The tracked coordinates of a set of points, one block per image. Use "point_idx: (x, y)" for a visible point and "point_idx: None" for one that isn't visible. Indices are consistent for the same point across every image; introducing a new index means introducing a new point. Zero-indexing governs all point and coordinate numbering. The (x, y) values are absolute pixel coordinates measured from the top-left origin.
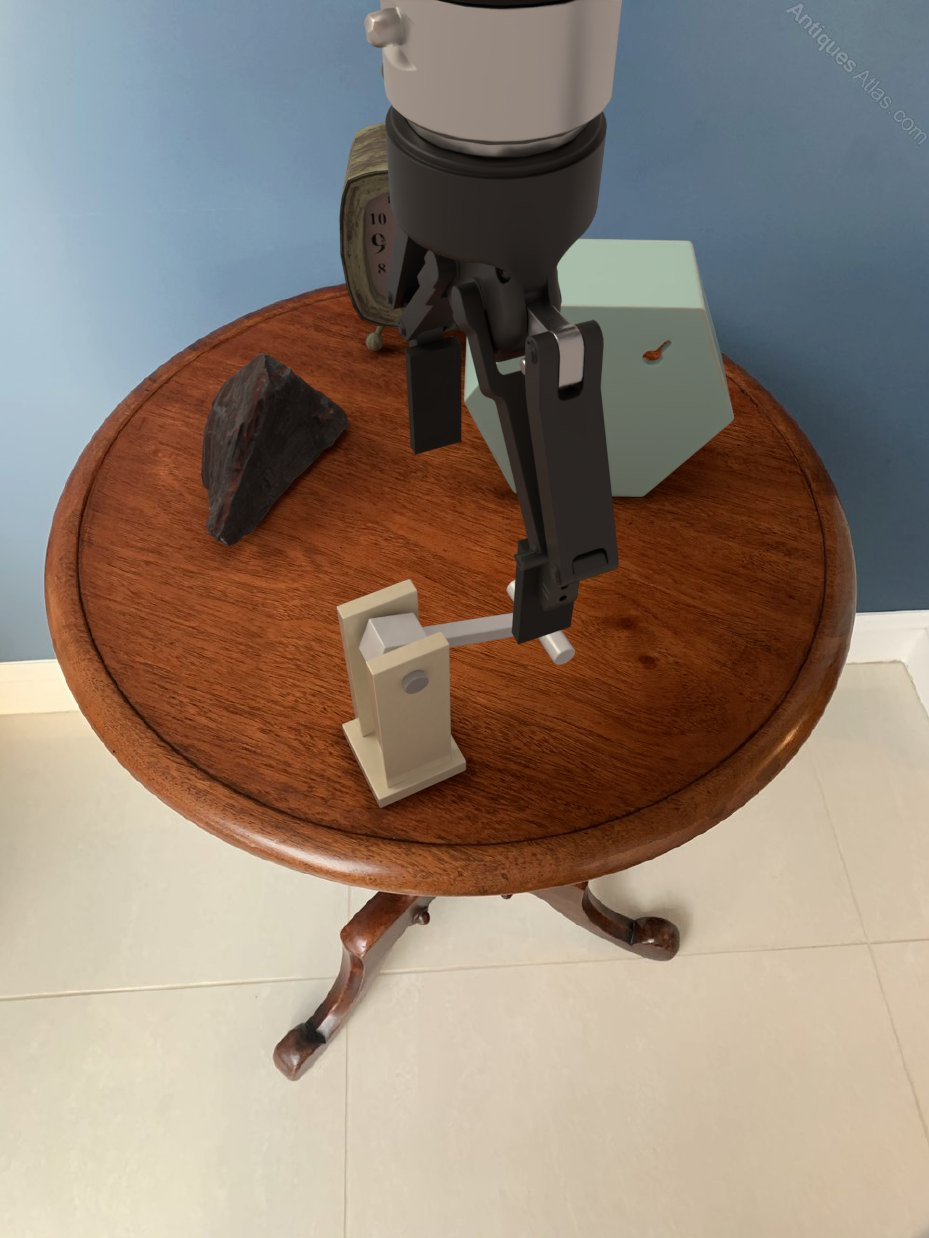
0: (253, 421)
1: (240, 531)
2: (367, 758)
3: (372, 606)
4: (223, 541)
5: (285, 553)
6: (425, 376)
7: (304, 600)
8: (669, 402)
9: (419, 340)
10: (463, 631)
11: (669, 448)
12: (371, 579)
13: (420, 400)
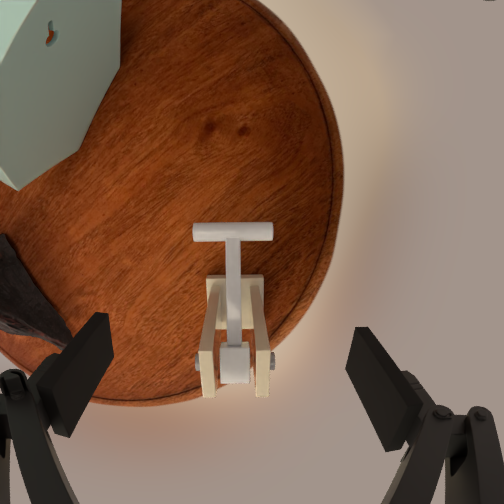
0: (6, 318)
1: (64, 328)
2: None
3: (213, 381)
4: None
5: (78, 305)
6: (76, 403)
7: (113, 309)
8: (85, 33)
9: (47, 425)
10: (237, 308)
11: (108, 42)
12: (110, 268)
13: (89, 390)
